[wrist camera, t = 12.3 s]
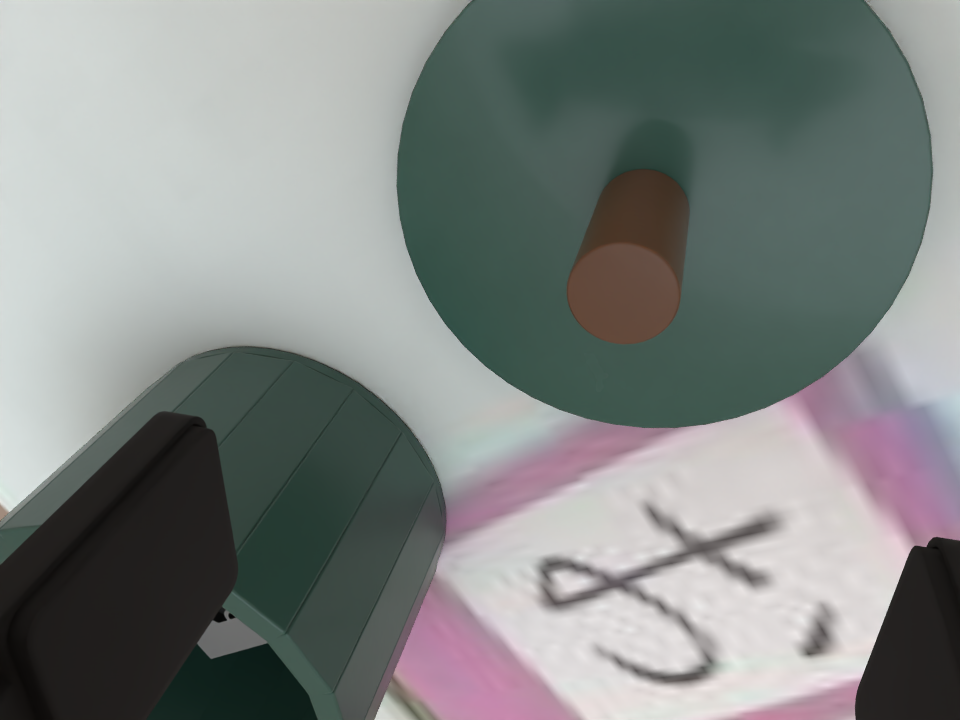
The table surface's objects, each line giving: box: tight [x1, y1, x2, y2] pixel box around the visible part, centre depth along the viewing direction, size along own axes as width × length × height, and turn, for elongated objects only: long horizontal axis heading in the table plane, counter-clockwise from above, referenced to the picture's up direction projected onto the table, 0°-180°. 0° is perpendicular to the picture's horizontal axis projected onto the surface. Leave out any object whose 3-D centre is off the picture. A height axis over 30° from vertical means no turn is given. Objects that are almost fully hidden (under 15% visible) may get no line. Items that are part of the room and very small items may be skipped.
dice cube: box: [197, 607, 267, 659], centre depth 29 cm, size 5×5×5 cm
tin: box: [0, 347, 446, 720], centre depth 28 cm, size 13×13×10 cm
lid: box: [397, 0, 933, 428], centre depth 20 cm, size 14×14×6 cm
